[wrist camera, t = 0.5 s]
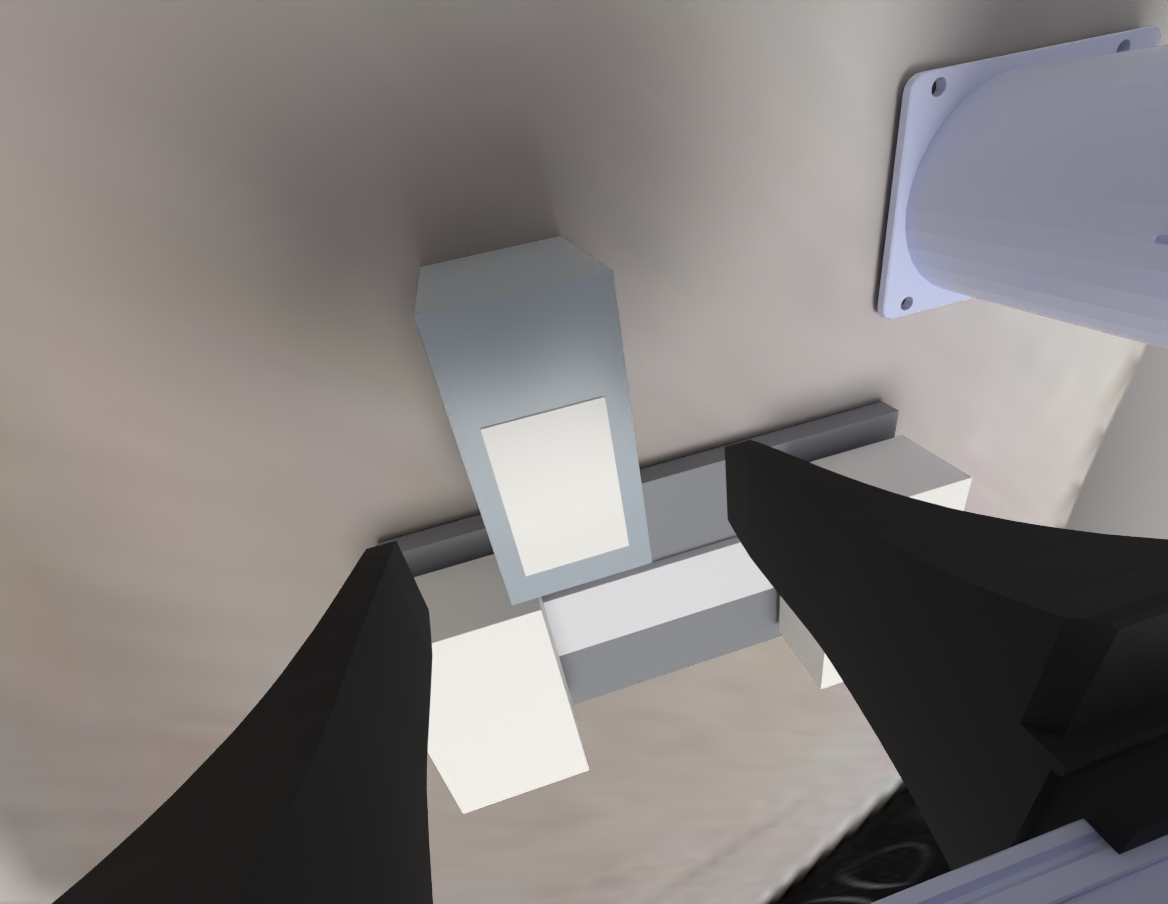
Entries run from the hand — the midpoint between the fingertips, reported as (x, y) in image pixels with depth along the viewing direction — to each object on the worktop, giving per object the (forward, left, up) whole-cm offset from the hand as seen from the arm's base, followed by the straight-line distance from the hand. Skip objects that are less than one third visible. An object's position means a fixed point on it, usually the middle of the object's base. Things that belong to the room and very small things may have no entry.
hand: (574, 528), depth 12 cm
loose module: (0, 0, -9) cm, 9 cm away
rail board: (-4, +11, -9) cm, 15 cm away
